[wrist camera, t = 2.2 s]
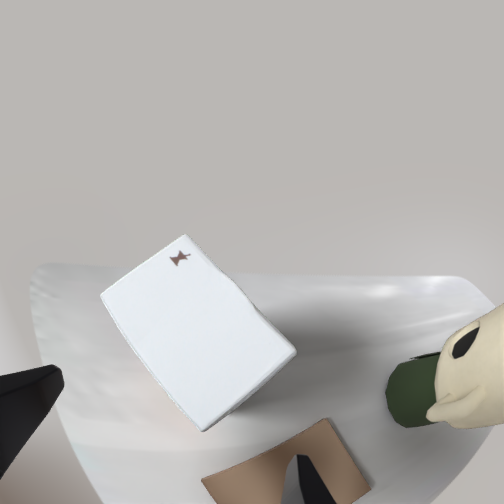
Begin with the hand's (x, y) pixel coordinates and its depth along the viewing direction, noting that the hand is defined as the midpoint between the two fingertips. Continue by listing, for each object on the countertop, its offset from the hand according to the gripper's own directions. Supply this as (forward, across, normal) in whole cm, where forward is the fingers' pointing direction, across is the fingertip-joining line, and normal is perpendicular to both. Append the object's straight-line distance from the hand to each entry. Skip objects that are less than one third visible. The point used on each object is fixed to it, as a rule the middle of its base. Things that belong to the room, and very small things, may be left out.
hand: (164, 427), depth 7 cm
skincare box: (+10, 0, +5) cm, 11 cm away
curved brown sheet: (+4, -8, +11) cm, 14 cm away
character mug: (+11, -17, +4) cm, 21 cm away
